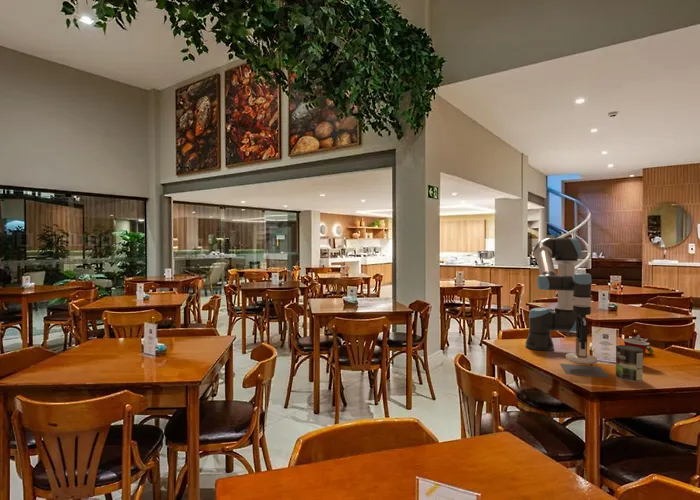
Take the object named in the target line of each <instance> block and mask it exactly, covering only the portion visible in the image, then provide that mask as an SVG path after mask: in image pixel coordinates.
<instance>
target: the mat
mask: <svg viewBox="0 0 700 500" xmlns="http://www.w3.org/2000/svg"><path fill="white" fill-rule="evenodd" d="M559 365H560V367H561V368H562V369H563V371H564V373H565V374H566V375H574V376H586V377H595V378H607V379H611V377H610V375H608V373H607V372H605V371H604V369H603V368H602V367H601V366H594V365H584V364H583V365H581V364H572V363H571V364H570V363H559Z"/></svg>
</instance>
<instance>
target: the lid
mask: <svg viewBox="0 0 700 500" xmlns="http://www.w3.org/2000/svg"><path fill="white" fill-rule="evenodd" d="M578 341H580V338H577V337H575V352H569V353H566V354H565V359H566V360H567V361H569V362H573V363H579V364H583V365H586V364H587V365H590V364H591V365H592V364H597V363H598V358H597V356H593V355H592V354H588V341H587V342H586V356H579V342H578Z"/></svg>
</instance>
